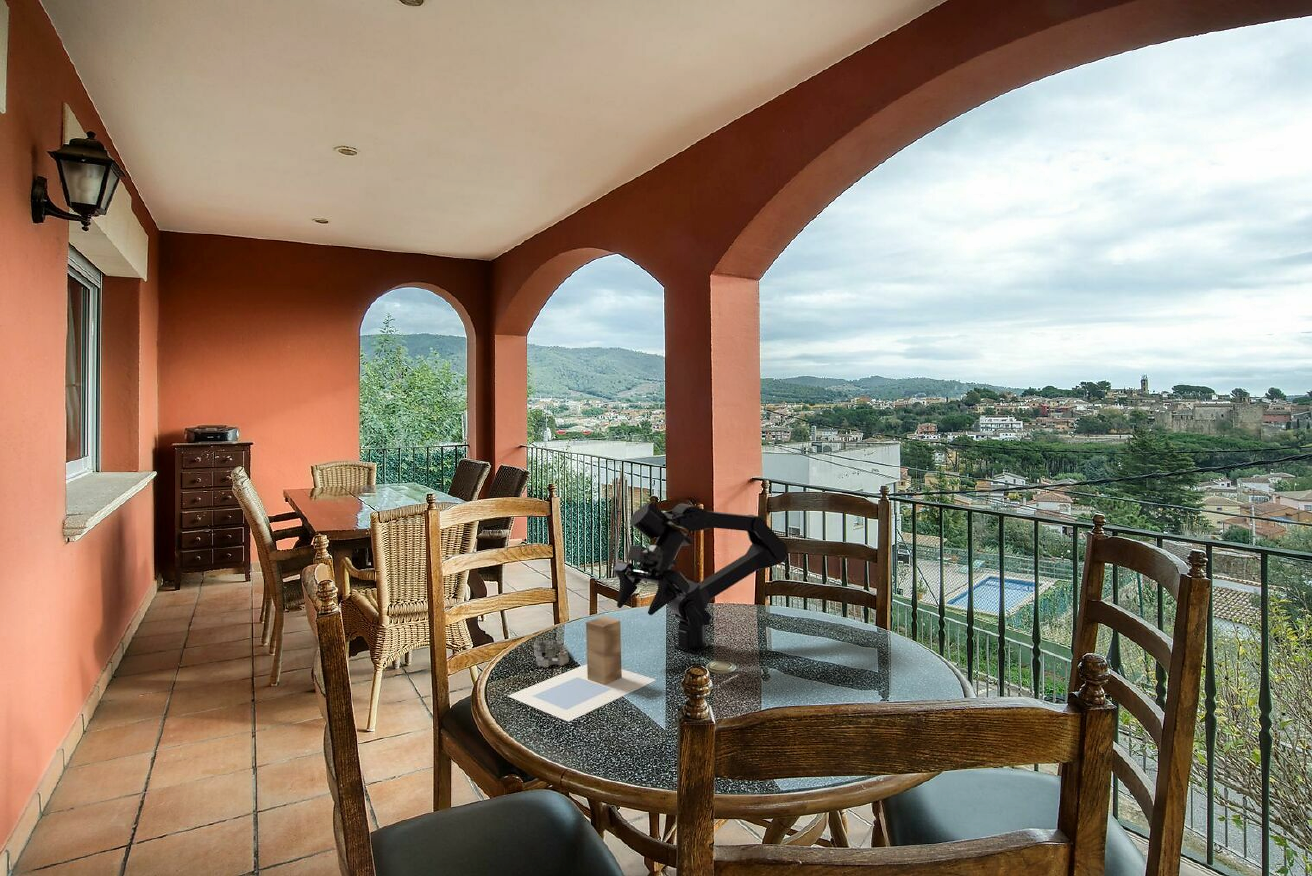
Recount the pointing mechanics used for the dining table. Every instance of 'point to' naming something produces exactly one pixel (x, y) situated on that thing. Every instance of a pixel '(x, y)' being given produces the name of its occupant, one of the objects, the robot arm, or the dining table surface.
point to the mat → (577, 692)
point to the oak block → (603, 650)
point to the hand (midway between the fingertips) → (633, 610)
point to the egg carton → (550, 653)
